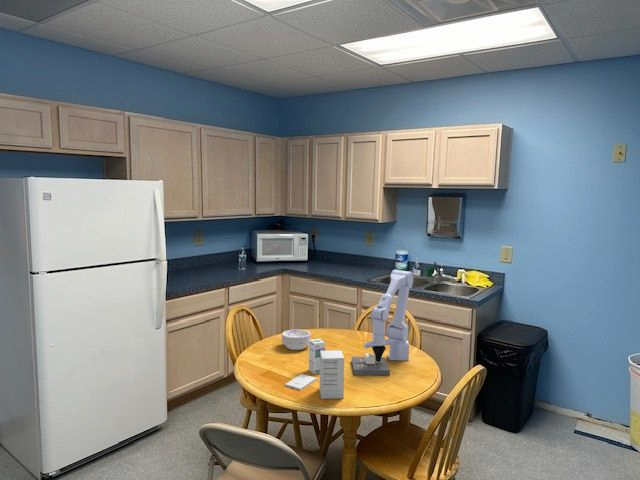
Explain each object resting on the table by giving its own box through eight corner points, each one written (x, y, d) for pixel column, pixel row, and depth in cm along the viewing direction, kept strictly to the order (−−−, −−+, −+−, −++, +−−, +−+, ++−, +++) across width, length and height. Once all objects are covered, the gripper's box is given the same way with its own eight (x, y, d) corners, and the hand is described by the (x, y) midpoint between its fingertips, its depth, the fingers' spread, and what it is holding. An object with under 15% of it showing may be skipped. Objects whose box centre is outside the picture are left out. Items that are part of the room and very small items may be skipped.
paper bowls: (294, 340, 245) (294, 326, 245) (316, 346, 237) (316, 332, 236) (275, 348, 233) (275, 333, 232) (298, 354, 224) (298, 339, 223)
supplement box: (344, 399, 177) (344, 358, 175) (320, 399, 176) (321, 358, 174) (340, 388, 186) (341, 349, 185) (319, 388, 186) (319, 350, 184)
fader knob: (373, 360, 210) (373, 353, 210) (374, 364, 205) (375, 357, 205) (365, 360, 210) (365, 353, 210) (366, 364, 205) (366, 357, 205)
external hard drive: (316, 381, 194) (300, 392, 184) (300, 377, 199) (284, 387, 188) (316, 377, 194) (300, 388, 184) (301, 373, 198) (284, 383, 188)
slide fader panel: (384, 362, 216) (384, 356, 216) (389, 375, 200) (389, 370, 200) (351, 361, 216) (351, 356, 216) (354, 375, 200) (354, 369, 200)
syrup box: (314, 374, 200) (314, 343, 199) (308, 369, 205) (308, 339, 204) (325, 372, 203) (325, 341, 201) (319, 367, 208) (319, 337, 206)
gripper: (388, 328, 213) (387, 356, 214) (361, 331, 207) (360, 359, 209) (395, 333, 206) (394, 361, 208) (368, 336, 201) (367, 365, 202)
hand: (378, 361), depth 208 cm, fingers closed
